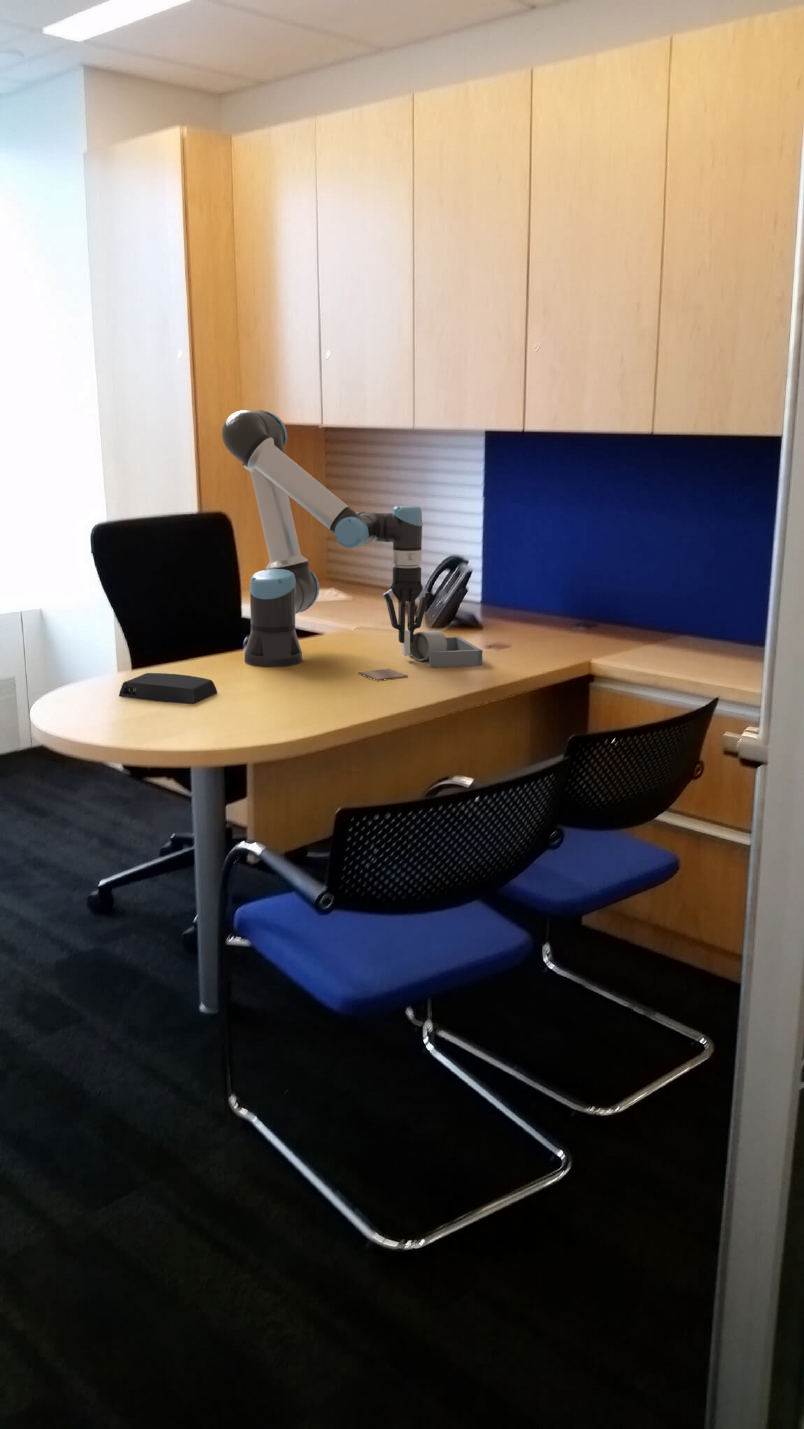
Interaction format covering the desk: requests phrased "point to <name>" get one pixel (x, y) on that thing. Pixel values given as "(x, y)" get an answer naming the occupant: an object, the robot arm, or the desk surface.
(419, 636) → the ceramic mug
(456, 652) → the grey c-shaped bracket
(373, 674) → the walnut coaster
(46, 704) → the desk surface
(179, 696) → the external hard drive
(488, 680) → the desk surface
